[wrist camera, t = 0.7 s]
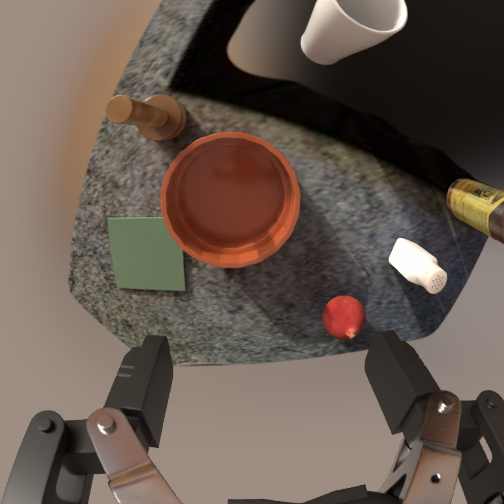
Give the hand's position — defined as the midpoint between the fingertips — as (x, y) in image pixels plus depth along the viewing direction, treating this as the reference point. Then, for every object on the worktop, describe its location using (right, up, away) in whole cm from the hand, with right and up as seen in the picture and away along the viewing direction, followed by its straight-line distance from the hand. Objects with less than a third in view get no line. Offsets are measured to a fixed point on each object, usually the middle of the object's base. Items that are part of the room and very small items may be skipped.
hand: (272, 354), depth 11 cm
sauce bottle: (+30, +12, +25) cm, 41 cm away
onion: (+11, -3, +30) cm, 32 cm away
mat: (-14, +4, +26) cm, 30 cm away
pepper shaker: (+21, +4, +28) cm, 35 cm away
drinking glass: (+7, +28, +17) cm, 34 cm away
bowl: (-3, +11, +24) cm, 26 cm away
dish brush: (-11, +19, +20) cm, 30 cm away
